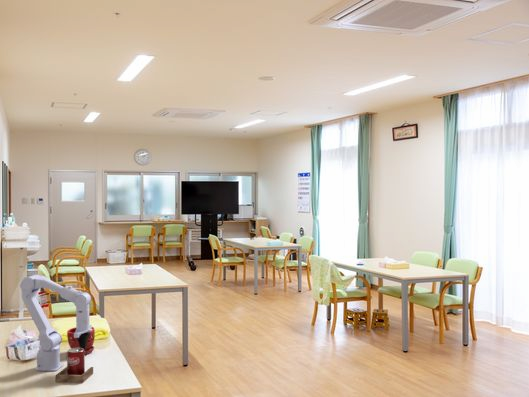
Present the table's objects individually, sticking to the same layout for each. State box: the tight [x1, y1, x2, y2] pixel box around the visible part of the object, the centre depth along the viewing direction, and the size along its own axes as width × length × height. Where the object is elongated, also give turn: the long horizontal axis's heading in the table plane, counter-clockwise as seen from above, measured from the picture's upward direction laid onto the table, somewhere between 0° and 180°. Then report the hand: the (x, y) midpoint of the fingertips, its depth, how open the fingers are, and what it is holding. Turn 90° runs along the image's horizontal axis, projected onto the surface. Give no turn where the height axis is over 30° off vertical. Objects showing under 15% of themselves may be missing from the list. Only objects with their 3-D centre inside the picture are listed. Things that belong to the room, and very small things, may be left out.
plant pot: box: [66, 326, 96, 355], centre depth 278 cm, size 13×13×12 cm
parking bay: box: [55, 366, 94, 384], centre depth 242 cm, size 12×12×3 cm
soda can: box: [66, 348, 86, 375], centre depth 243 cm, size 7×7×12 cm
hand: (83, 349), depth 252 cm, fingers closed
